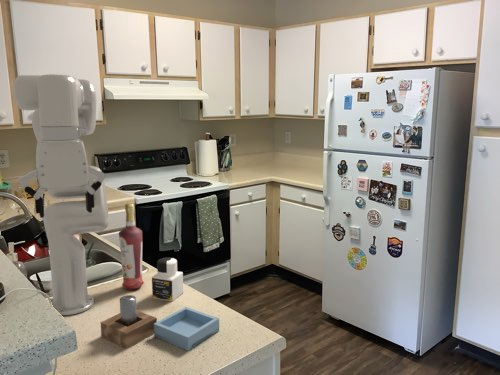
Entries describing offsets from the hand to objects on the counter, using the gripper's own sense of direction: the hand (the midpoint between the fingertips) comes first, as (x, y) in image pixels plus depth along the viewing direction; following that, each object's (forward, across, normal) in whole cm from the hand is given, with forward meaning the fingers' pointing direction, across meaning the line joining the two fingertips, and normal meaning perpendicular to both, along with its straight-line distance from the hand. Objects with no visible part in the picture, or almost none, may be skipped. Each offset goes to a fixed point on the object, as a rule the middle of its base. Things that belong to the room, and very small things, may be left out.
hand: (66, 213), depth 97 cm
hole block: (+36, -14, -7) cm, 39 cm away
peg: (+36, -14, -7) cm, 39 cm away
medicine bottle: (+36, -31, -25) cm, 53 cm away
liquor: (+36, -23, -37) cm, 56 cm away
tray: (+36, -27, 0) cm, 45 cm away
